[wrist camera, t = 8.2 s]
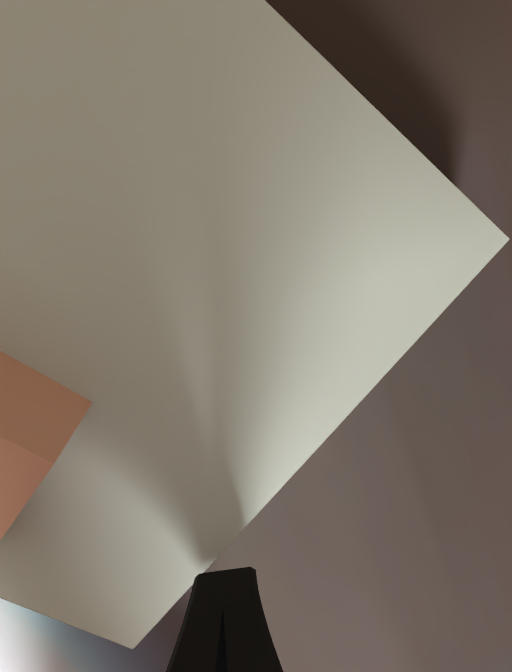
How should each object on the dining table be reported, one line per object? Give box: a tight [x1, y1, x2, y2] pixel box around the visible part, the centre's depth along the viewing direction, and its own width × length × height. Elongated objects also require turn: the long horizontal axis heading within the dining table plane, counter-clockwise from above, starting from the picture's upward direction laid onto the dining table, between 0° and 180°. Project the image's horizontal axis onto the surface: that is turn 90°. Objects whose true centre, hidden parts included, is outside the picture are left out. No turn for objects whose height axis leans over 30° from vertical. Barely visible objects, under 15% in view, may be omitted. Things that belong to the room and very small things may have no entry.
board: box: [0, 0, 509, 649], centre depth 9 cm, size 14×14×2 cm
